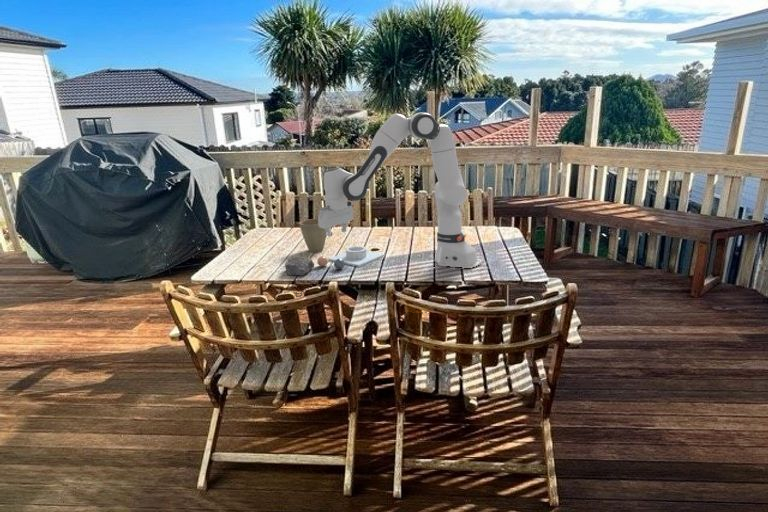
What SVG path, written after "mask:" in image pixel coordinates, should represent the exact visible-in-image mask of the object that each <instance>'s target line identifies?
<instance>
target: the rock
mask: <svg viewBox="0 0 768 512" xmlns="http://www.w3.org/2000/svg"><path fill="white" fill-rule="evenodd" d="M314 267H315V262H313V259H312V258H309V257H302V256H297V255H295V256H292V257H289V258H288V259H287V261H286V262H285V264H284V268H285V274H286V275H288V276H303V275H304V276H305V274H308V273H309V272H310V271H311V270H313V269H314Z"/></svg>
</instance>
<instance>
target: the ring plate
mask: <svg viewBox="0 0 768 512" xmlns="http://www.w3.org/2000/svg"><path fill="white" fill-rule="evenodd" d="M383 256H384V257H385V254H384V253H378V252H373V251H367V247H365V246H361V245H360V246H359V245H355V246H354V245H352V246H349V247H346V248H345V252H342V253H340V254H337V255H334V256H332V257H329V258H327V259H328V262H329V261H330V262H332V263H334V262H335V260H337V259H342V260H343V261H344V262H345V265H347V266H352V267H357V268H360V267H363V266H365V265H367V264H370V263H372V262H374V261H376V260H379V259H381V257H382V258H384V257H383Z"/></svg>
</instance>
